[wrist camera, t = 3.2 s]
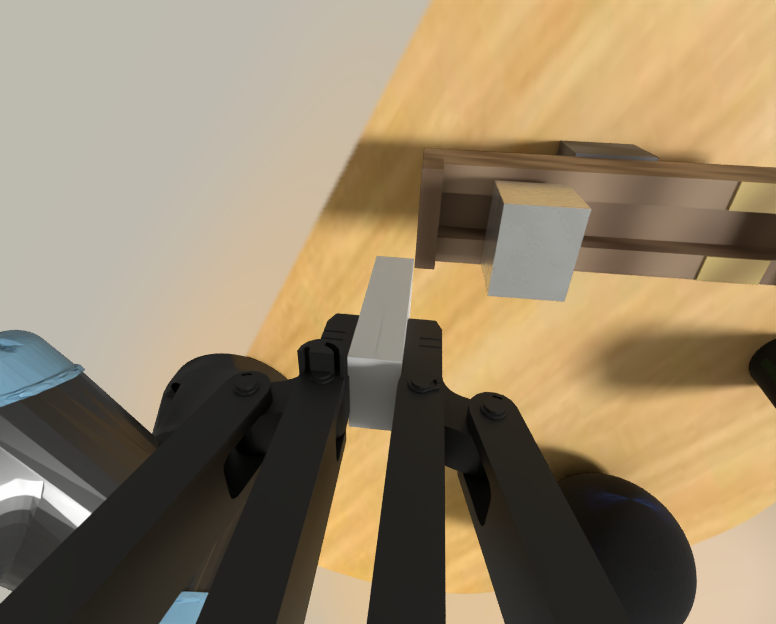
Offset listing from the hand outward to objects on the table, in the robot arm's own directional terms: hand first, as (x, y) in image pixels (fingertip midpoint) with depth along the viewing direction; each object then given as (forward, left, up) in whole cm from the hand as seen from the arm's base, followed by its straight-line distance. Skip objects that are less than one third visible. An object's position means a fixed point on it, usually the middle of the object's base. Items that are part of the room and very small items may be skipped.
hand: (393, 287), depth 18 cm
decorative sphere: (+22, -34, -18) cm, 44 cm away
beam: (+13, 0, -18) cm, 22 cm away
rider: (+7, 0, -11) cm, 13 cm away
